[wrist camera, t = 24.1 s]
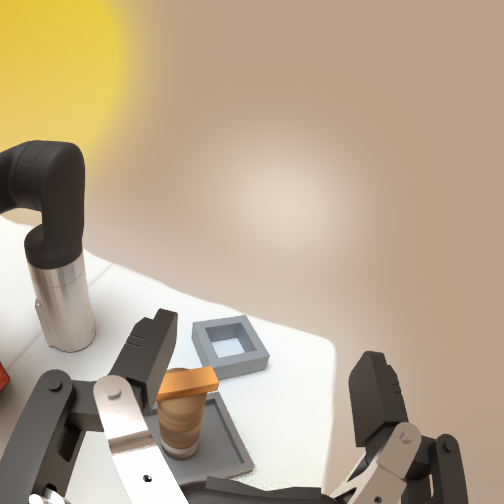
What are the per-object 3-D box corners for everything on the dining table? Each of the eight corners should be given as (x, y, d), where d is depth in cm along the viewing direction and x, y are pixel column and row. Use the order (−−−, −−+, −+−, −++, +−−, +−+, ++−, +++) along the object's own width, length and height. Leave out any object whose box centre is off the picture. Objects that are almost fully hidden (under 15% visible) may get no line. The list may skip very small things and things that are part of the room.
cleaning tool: (161, 464, 30) (153, 409, 21) (151, 434, 33) (141, 364, 25) (207, 455, 33) (224, 395, 24) (195, 426, 36) (206, 354, 27)
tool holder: (209, 382, 45) (211, 368, 43) (191, 337, 52) (193, 322, 50) (264, 369, 49) (269, 355, 47) (241, 329, 56) (245, 315, 54)
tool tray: (135, 497, 25) (133, 494, 24) (114, 416, 35) (111, 408, 33) (251, 471, 32) (254, 466, 31) (216, 399, 42) (218, 391, 41)
